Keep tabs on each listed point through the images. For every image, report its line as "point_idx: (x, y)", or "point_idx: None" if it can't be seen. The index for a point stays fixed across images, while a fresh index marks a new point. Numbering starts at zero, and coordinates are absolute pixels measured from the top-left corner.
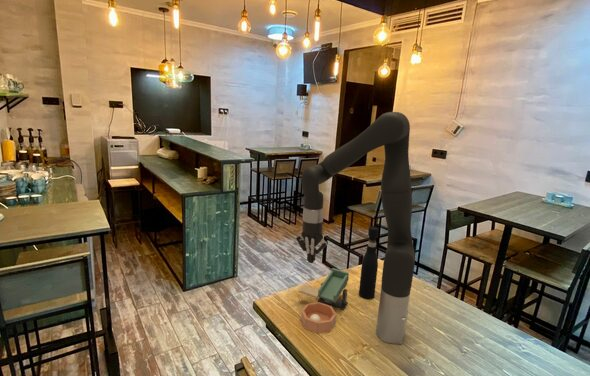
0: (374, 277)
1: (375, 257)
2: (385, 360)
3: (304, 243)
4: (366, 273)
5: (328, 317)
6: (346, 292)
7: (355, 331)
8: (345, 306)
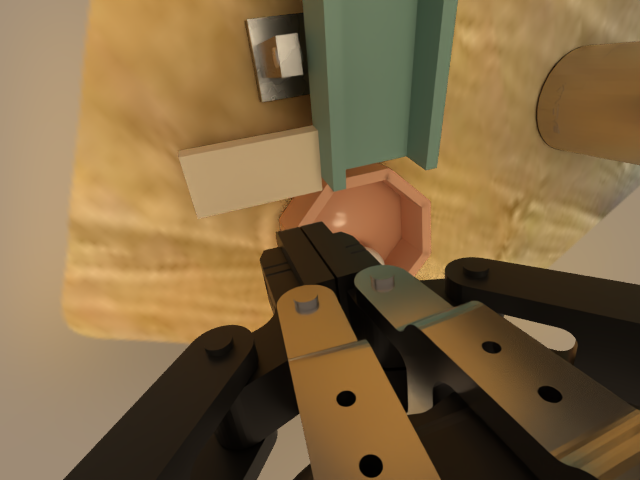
0: None
1: None
2: (567, 219)
3: (181, 467)
4: None
5: (372, 183)
6: None
7: (476, 171)
8: None
